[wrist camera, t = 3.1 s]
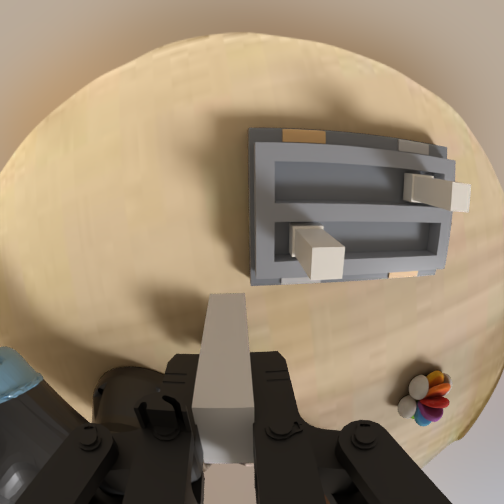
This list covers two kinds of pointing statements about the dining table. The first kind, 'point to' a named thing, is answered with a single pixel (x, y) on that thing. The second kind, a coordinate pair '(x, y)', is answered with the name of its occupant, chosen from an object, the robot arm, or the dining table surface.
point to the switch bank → (344, 203)
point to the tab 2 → (437, 192)
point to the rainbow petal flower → (426, 398)
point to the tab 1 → (316, 251)
